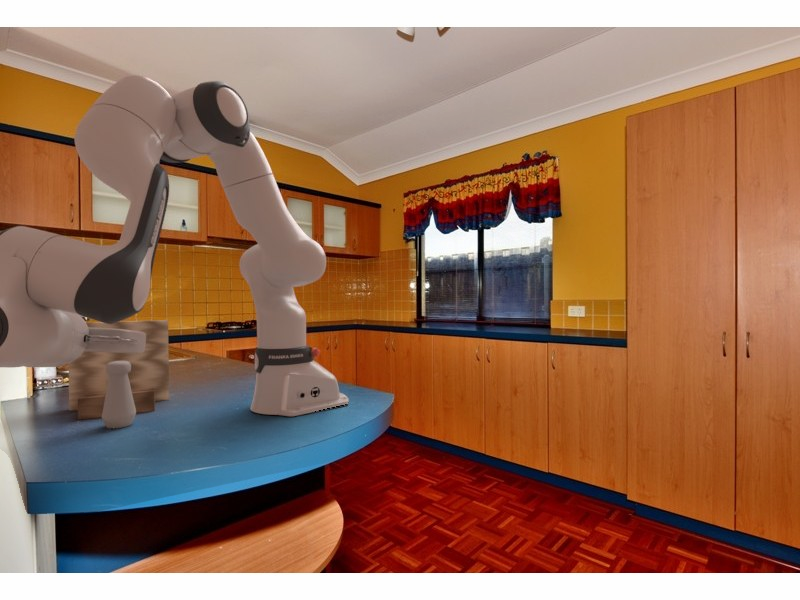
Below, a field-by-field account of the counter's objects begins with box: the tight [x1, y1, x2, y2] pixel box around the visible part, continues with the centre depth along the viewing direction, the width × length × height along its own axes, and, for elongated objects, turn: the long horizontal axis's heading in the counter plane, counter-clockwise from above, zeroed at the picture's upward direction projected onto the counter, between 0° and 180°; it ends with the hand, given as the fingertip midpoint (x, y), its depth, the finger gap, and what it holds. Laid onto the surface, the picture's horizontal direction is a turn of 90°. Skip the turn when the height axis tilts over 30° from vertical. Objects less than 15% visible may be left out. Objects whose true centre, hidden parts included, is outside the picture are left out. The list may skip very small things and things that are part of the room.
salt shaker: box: [101, 361, 137, 430], centre depth 84 cm, size 6×6×13 cm
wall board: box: [68, 319, 170, 412], centre depth 101 cm, size 20×2×20 cm, turn 120°
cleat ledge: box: [77, 389, 156, 421], centre depth 95 cm, size 14×10×4 cm
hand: (92, 341), depth 74 cm, fingers open, 8 cm apart
